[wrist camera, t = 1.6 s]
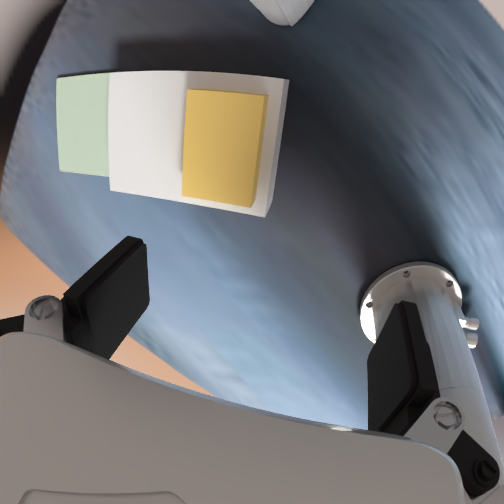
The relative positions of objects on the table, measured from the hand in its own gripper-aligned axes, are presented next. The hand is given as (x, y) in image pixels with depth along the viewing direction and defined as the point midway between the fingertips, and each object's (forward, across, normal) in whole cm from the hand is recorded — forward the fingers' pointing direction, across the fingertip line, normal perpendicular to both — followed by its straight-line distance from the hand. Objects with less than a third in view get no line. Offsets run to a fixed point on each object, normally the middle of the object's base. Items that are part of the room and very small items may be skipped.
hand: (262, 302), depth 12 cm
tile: (+17, +7, -2) cm, 18 cm away
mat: (+21, +24, -1) cm, 32 cm away
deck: (+21, +11, -2) cm, 23 cm away
